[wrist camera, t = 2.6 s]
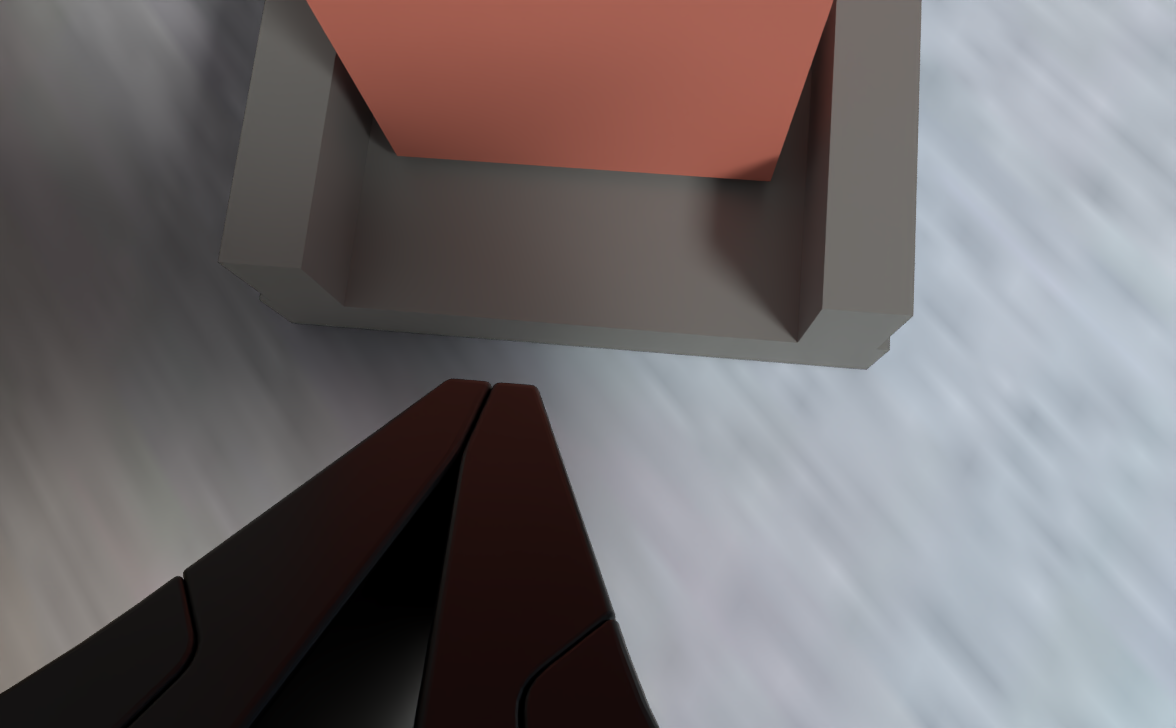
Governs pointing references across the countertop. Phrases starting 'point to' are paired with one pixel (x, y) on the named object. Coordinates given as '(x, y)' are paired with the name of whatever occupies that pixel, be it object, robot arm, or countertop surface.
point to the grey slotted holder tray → (589, 218)
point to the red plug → (583, 79)
